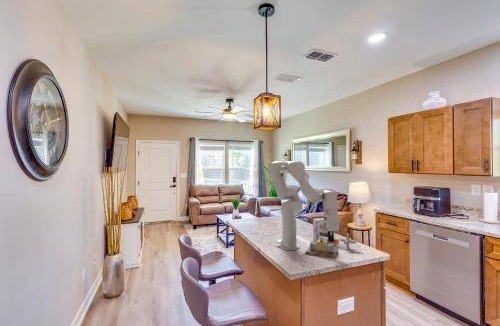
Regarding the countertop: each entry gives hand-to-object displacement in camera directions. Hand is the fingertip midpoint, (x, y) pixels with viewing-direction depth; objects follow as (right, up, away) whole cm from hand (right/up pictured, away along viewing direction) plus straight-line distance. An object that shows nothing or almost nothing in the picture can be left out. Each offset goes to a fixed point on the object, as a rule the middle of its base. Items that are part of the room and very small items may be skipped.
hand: (330, 241), depth 153 cm
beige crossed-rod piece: (+17, -10, +17) cm, 26 cm away
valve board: (-3, -10, +9) cm, 13 cm away
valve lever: (0, -2, +5) cm, 5 cm away
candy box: (+5, -11, +34) cm, 36 cm away
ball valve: (-3, -9, +9) cm, 13 cm away
